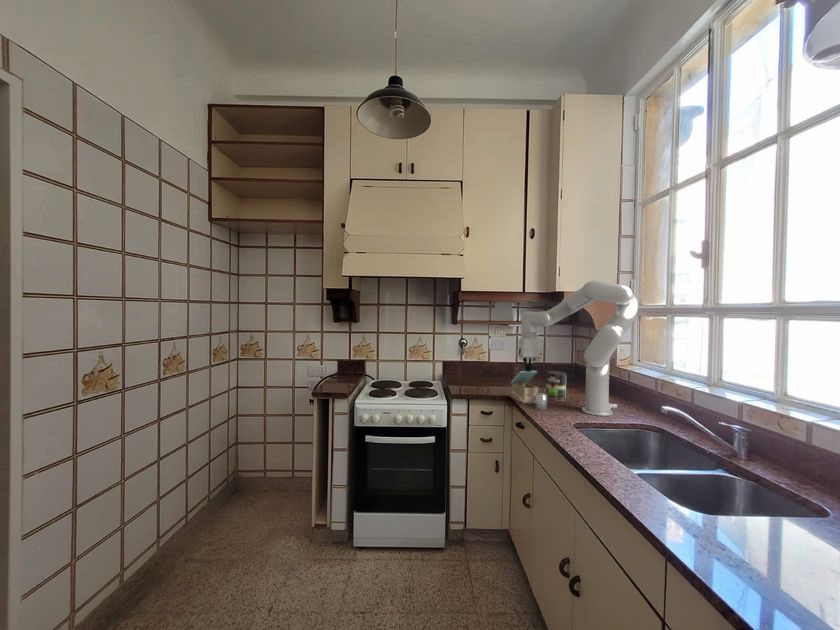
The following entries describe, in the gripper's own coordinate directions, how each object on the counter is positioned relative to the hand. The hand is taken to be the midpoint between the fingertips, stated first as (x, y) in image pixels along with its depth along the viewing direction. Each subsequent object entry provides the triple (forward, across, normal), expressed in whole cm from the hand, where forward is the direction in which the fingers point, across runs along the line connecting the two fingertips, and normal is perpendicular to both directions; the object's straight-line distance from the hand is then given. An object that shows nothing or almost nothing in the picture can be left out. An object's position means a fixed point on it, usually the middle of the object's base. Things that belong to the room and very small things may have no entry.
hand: (528, 370), depth 177 cm
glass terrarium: (+16, -20, -5) cm, 27 cm away
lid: (+4, 0, -4) cm, 6 cm away
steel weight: (+16, 0, +12) cm, 20 cm away
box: (+16, 0, -3) cm, 17 cm away
